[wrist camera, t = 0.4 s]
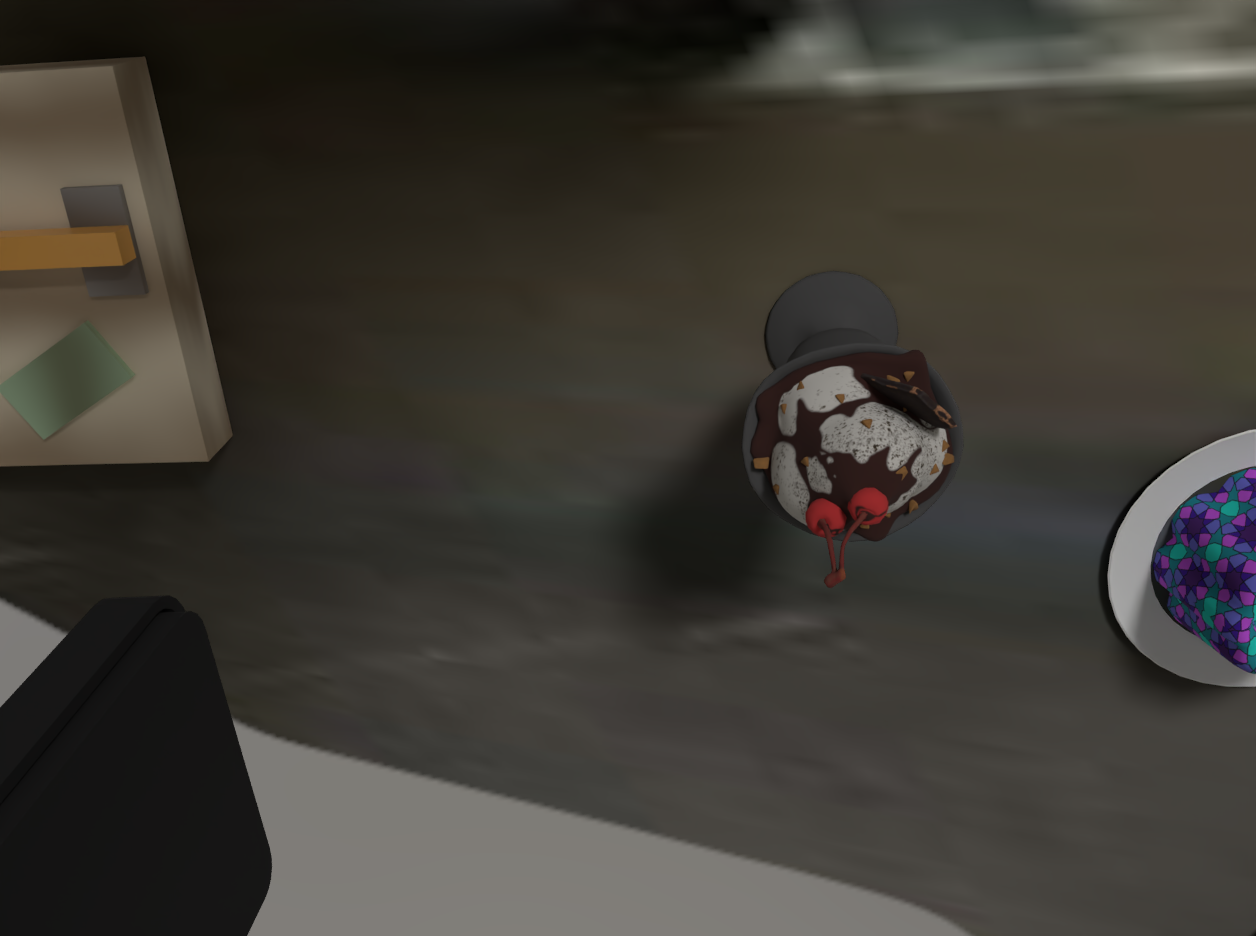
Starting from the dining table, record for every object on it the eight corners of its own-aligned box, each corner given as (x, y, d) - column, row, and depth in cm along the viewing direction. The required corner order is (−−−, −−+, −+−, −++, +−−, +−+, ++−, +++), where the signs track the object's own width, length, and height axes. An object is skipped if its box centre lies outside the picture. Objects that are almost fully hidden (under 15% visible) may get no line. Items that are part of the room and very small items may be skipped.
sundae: (762, 430, 47) (767, 646, 34) (727, 269, 45) (718, 435, 31) (931, 399, 46) (1005, 610, 33) (906, 231, 44) (976, 387, 30)
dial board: (-186, 77, 45) (-242, 89, 42) (145, 56, 43) (108, 67, 41) (-59, 442, 51) (-101, 471, 49) (232, 435, 50) (205, 464, 47)
